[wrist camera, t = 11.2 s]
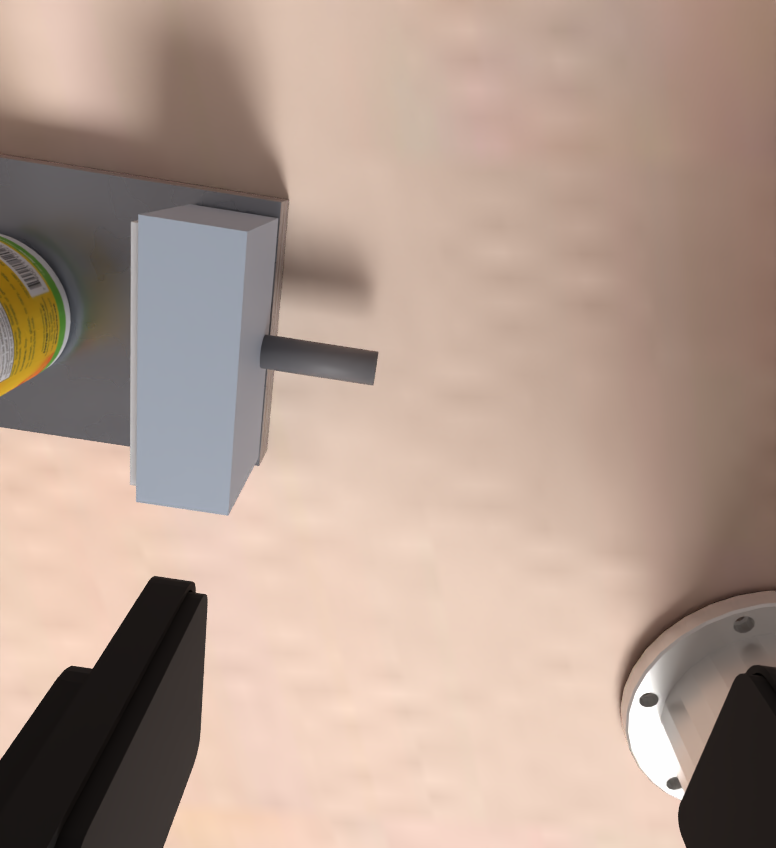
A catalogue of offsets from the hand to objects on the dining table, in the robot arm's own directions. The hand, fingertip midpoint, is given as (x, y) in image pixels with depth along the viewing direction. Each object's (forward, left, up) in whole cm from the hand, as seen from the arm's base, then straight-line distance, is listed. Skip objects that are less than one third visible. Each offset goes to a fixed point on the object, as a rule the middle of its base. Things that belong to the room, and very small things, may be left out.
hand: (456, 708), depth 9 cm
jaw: (+6, 0, -16) cm, 17 cm away
